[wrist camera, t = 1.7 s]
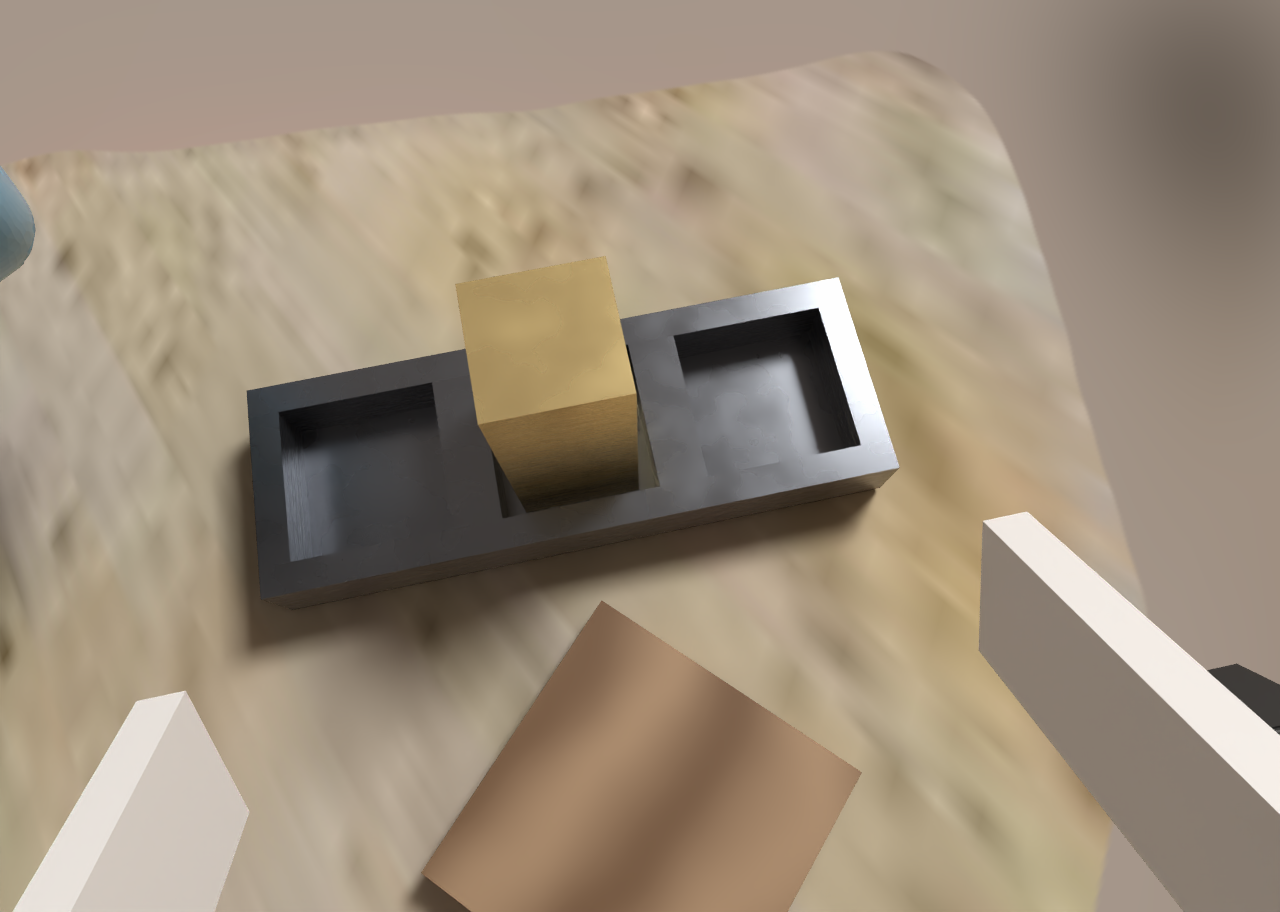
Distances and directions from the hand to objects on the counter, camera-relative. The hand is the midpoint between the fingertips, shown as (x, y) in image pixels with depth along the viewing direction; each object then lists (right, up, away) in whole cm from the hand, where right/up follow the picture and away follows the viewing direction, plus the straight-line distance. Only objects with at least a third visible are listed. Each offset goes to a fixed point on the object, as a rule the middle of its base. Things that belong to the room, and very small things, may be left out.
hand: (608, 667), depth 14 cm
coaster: (+1, -11, +19) cm, 22 cm away
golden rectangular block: (-2, +4, +23) cm, 24 cm away
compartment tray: (-2, +4, +24) cm, 24 cm away
